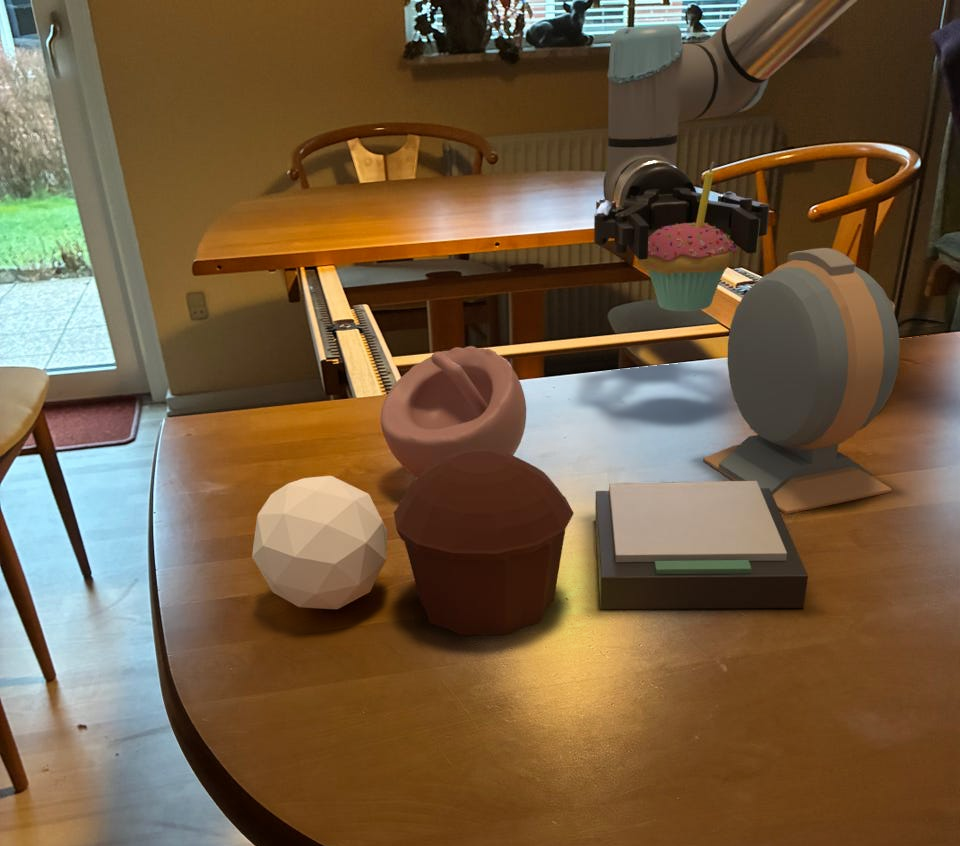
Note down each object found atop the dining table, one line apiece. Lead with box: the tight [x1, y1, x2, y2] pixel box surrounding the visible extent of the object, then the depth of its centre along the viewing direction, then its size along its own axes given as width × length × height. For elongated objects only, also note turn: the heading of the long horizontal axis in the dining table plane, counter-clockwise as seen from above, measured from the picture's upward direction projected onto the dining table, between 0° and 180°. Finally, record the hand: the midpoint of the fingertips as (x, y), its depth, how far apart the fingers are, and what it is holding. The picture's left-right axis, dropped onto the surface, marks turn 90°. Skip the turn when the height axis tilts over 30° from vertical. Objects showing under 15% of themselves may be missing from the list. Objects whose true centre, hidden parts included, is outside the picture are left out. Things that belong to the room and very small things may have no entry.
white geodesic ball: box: [251, 475, 388, 610], centre depth 66 cm, size 9×9×12 cm
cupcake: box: [637, 161, 738, 312], centre depth 87 cm, size 9×8×12 cm
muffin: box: [393, 450, 575, 637], centre depth 63 cm, size 12×11×10 cm
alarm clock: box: [702, 247, 901, 515], centre depth 77 cm, size 14×10×18 cm
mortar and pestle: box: [380, 345, 527, 478], centre depth 81 cm, size 12×12×11 cm
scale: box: [594, 480, 809, 610], centre depth 69 cm, size 13×14×3 cm
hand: (698, 239), depth 83 cm, fingers closed on cupcake, 8 cm apart
